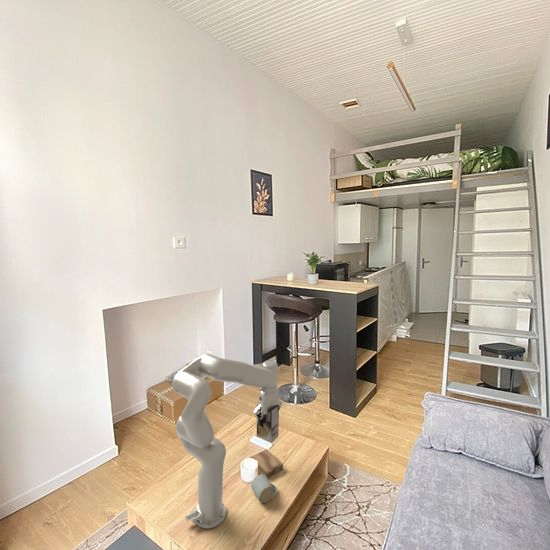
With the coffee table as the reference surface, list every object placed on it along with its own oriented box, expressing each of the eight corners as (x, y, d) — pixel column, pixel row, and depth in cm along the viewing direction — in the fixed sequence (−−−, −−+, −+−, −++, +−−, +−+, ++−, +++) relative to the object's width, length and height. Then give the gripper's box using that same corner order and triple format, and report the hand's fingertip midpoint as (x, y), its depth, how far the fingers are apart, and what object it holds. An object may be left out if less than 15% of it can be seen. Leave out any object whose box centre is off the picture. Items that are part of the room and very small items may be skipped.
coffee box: (279, 436, 149) (279, 404, 147) (271, 443, 143) (271, 411, 141) (263, 429, 154) (264, 398, 152) (255, 436, 148) (256, 404, 146)
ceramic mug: (259, 507, 127) (260, 490, 126) (250, 493, 134) (251, 476, 133) (281, 497, 132) (282, 481, 131) (271, 484, 139) (272, 468, 138)
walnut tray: (266, 479, 142) (266, 472, 141) (250, 462, 152) (250, 457, 151) (282, 469, 148) (282, 463, 148) (266, 454, 158) (266, 449, 158)
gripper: (258, 396, 137) (257, 433, 139) (288, 385, 148) (286, 420, 150) (249, 389, 143) (248, 425, 145) (278, 380, 154) (276, 413, 156)
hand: (267, 422), depth 148 cm, fingers closed on coffee box, 7 cm apart
